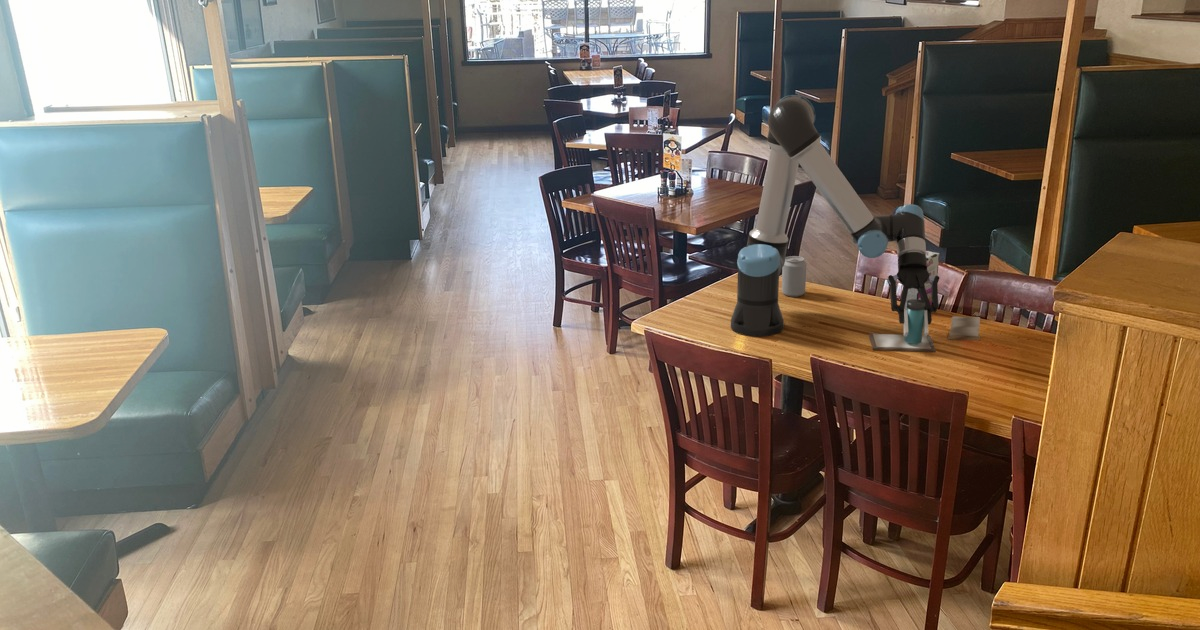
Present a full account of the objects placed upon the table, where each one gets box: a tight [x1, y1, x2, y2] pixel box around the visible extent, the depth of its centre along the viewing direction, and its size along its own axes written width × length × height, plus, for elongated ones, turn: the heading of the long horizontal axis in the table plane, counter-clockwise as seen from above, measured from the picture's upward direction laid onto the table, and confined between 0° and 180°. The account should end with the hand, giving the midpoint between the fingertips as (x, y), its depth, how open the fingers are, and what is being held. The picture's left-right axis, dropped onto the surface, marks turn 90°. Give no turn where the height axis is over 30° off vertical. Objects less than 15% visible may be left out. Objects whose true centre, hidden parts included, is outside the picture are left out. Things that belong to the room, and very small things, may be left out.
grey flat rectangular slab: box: [868, 333, 937, 353], centre depth 237 cm, size 16×11×2 cm
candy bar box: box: [904, 250, 940, 310], centre depth 262 cm, size 11×5×16 cm, turn 131°
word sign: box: [947, 316, 981, 342], centre depth 238 cm, size 8×2×6 cm, turn 79°
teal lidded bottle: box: [904, 299, 925, 344], centre depth 233 cm, size 5×5×11 cm
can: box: [781, 255, 808, 298], centre depth 278 cm, size 8×8×12 cm
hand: (916, 334), depth 230 cm, fingers closed on teal lidded bottle, 4 cm apart
